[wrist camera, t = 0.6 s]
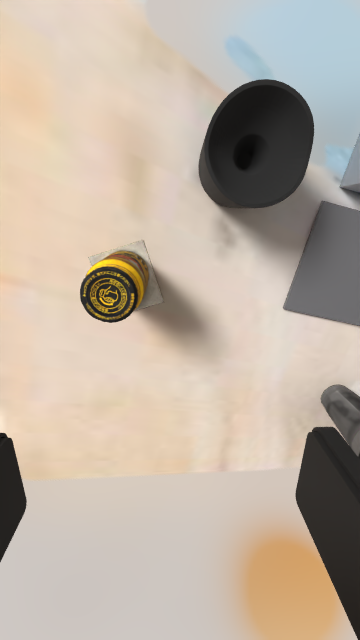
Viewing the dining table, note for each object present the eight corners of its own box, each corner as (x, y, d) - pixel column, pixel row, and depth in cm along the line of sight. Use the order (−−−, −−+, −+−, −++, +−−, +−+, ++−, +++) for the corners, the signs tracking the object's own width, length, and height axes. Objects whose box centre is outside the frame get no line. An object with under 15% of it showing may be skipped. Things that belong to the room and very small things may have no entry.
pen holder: (290, 172, 34) (337, 153, 24) (228, 227, 36) (249, 230, 26) (242, 100, 31) (274, 48, 22) (178, 163, 33) (182, 141, 24)
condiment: (142, 239, 36) (131, 248, 24) (163, 301, 38) (162, 336, 27) (88, 257, 36) (52, 274, 25) (113, 317, 39) (90, 357, 28)
